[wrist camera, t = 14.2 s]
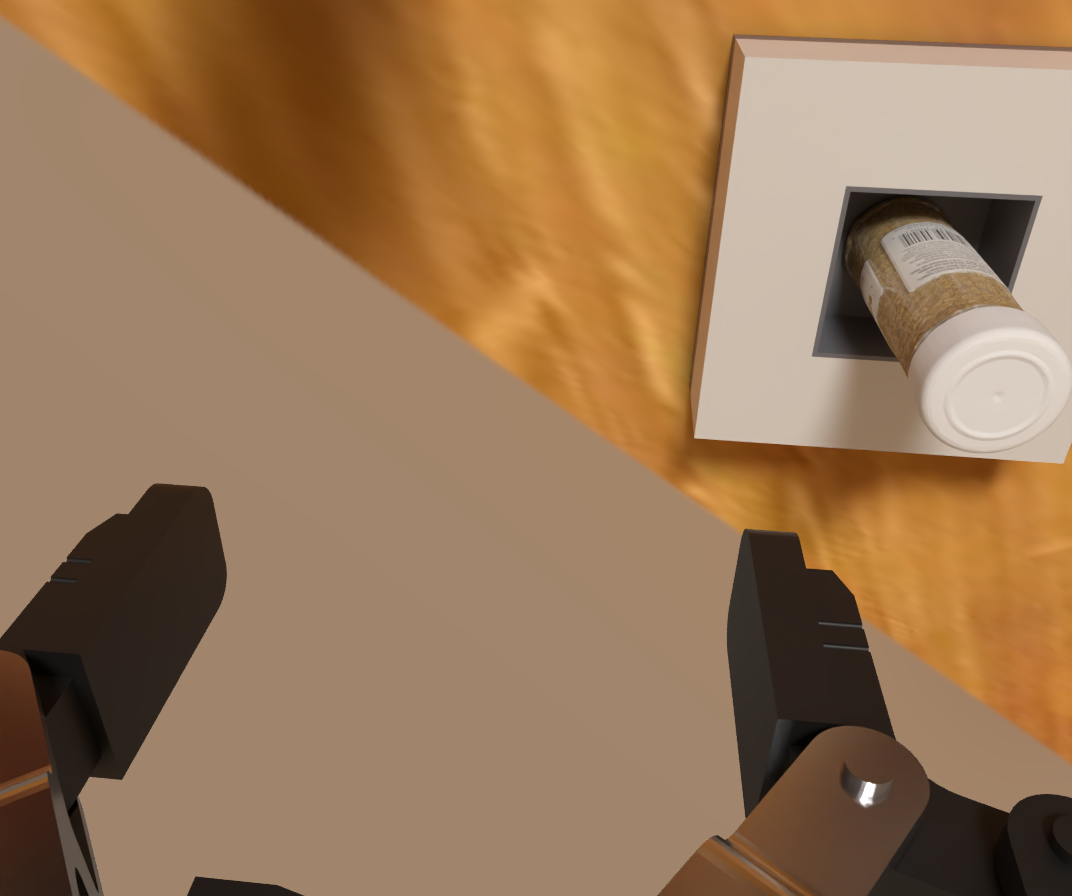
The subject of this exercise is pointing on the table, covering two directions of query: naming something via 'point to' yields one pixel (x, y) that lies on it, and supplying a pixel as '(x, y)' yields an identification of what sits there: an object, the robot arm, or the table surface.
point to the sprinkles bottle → (956, 330)
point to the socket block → (849, 192)
